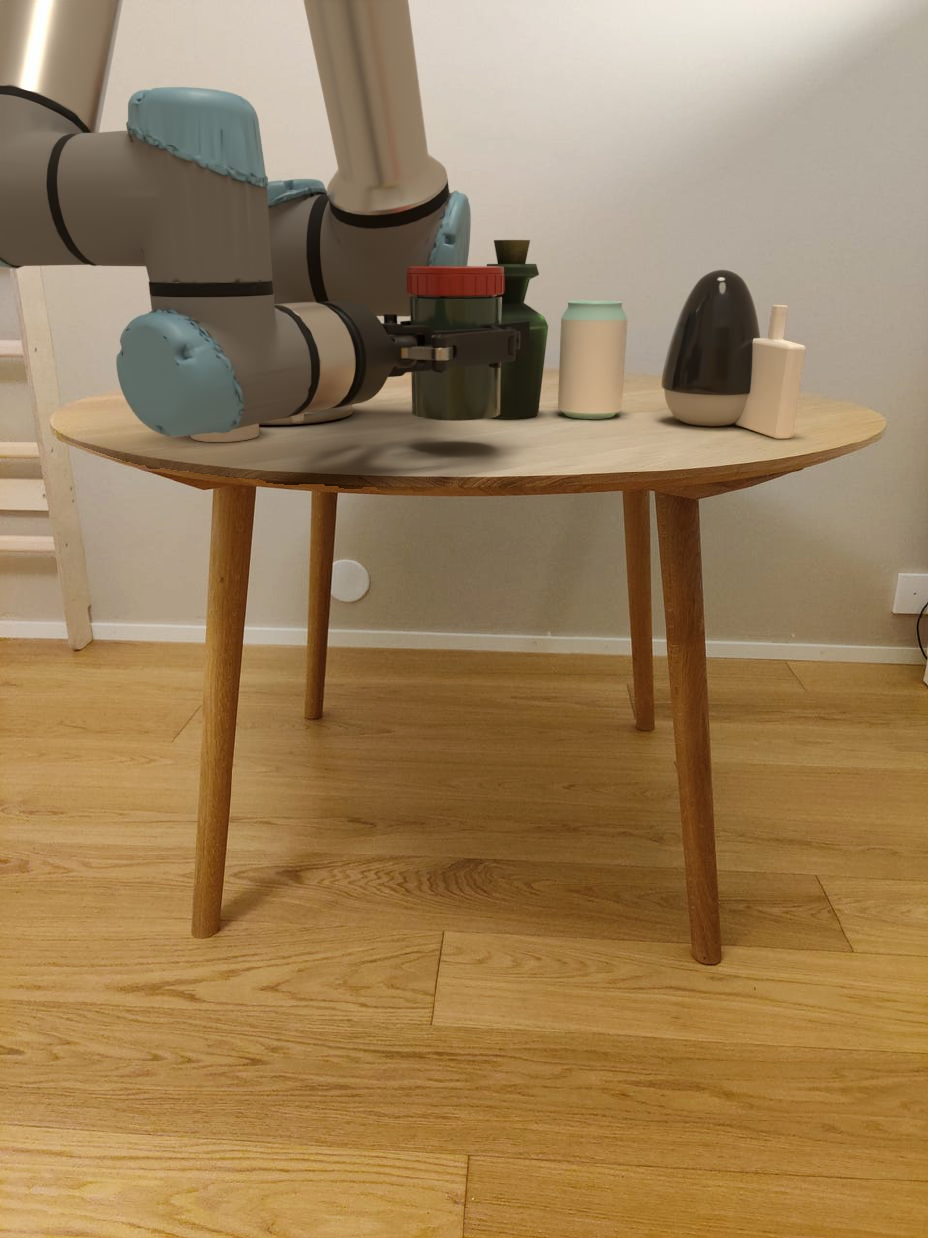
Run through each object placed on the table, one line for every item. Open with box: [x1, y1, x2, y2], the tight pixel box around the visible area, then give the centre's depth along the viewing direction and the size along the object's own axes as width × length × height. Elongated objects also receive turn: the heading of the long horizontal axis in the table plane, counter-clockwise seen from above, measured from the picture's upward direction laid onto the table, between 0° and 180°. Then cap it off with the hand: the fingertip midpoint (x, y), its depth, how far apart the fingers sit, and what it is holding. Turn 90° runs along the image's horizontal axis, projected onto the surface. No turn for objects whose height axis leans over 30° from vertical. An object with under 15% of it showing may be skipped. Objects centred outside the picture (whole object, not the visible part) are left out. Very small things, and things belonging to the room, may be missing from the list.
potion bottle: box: [486, 239, 549, 420], centre depth 99 cm, size 8×8×18 cm
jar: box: [409, 295, 502, 422], centre depth 81 cm, size 8×8×12 cm
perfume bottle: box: [734, 304, 807, 440], centre depth 90 cm, size 8×2×12 cm, turn 15°
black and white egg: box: [661, 269, 761, 427], centre depth 95 cm, size 10×10×15 cm
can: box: [557, 299, 628, 420], centre depth 100 cm, size 7×7×12 cm
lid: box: [407, 265, 505, 296], centre depth 79 cm, size 8×8×2 cm
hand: (484, 334), depth 85 cm, fingers closed on jar, 8 cm apart
